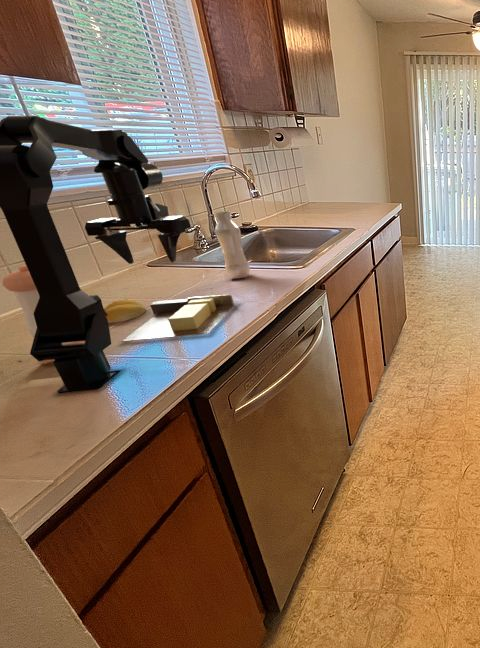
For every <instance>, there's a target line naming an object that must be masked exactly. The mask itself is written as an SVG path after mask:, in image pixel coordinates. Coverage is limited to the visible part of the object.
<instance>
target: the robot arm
mask: <svg viewBox="0 0 480 648" xmlns="http://www.w3.org/2000/svg"><path fill="white" fill-rule="evenodd" d="M24 144H30V146H28V145H24ZM54 148H60V149H66V150H73V151H78V152H81V153H82V155H84V157H88V158H91V159H93V160H96V161H98V163H97V165H95V166H94V169H93V172H94V173H95V174H101V176H102V178H103V181H104V183H105V186H106V188H107V191H108V193H109V196H110V199H107V203H108V206H114V208H115V209H114V210H115V212H116V214H117V217H101V218H98V219H94V220H90V221H86V222H85V226H84V231H85V233H86V235H87V237H91V236H92V237H93V236H94V239H95V240H99V241H101V242H102V243H104V244H105V245H106V246H107V247H109V248H110V249H111V250H112V251H114V252H115V253H116V254H117V255H119V256H120V257H121V258H122V259H123V260H124V261H125V262H127V264H129V265H131V264H134V257H133V254H132V251H131V248H130V247H129V244H128V241H127V234H128V231H137V230H138V231H139V230H157V232H159V234H157V237H158V239H159V242H160V243H161V245H162V247H163V250H164V252H165V254H166V256H167V258H168V259H169V261H170V262H171V263H175V262H176V261H177V249H178V243H179V238H180V237H181V235H182V234H184V233H185V232H186V231H187V230H188V229H190V228H192V226H191V223H190V220H189V218H187V217H186V216H185V215H171V216H170V215H169V214H170V213H169V207H168V206H167V205H165V204H164V205H163V204H161V203H160V204H159V203H155V202H153V200H152V198H151V197H150V195H146V194H145V191H144V190H149V189H152V188H158V187H159V186H161V184H162V183H163V181H164V176H163V173H162V171H161V170H160V169H159V168H158V167H157V166H156V165H155V164H153V163H151V162H149V159H148V158H147V157H146V155H145V154H144V152H142V150H141V149H140V147H139V146H138V145H137V143H136V142H135V141H134V139H133V138H132V137H131V136H130V135H128V133H127V132H126V131H124V130H122V129H89V128H84V127H80V126H77V125H76V126H75V125H71V124H67V123H63V122H58V121H53V120H49V119H46V118H44V117H41V116H38V115H8V116H6V117H3V118H1V120H0V210H1V211H2V213H3V216H4V218H5V220H6V222H7V223H6V224H7V225H8V228H9V230H10V232H11V234H12V236H13V239H14V241H15V243H16V245H17V248H18V251H19V252H20V254H21V257H22V259H23V261H24V264H25V265H26V266H27V268H28V271H29V273H30V275H31V278H32V280H33V282H34V284H35V287H36V289H37V291H38V294H39V300H38V302H37V305H36V308H35V310H34V313H33V314H34V318H35V322H36V326H37V329H36V333H35V336H34V338H33V340H32V343H31V348H30V352H29V353H30V356H32V358H34V359H35V360H37V361H38V362H43V360H52V359H54V360H55V361H53V362H52V364H53V366H54V368H55V370H56V372H57V374H58V376H59V377H60V379H61V381H62V383H63V385H62V387H60V388H59V389H58V390H56V392H57V394H59V395H60V394H68V393H77V392H78V393H79V392H87V391H95V390H96V391H97V390H100V389H102V388H103V387H104V386H105V385H106V384H108V382H109V381H111V380H112V379H113V378H114V377H115V376H116V375H118V374H119V373H120V372H121V371H122V370H121V369H120V370H119V369H118V370H111V365H110V362H109V361H108V358H107V357H106V354H105V352H104V350H106V349H107V348H108V347H109V346H111V345H112V338H111V333H110V324H109V323H108V320H107V318H106V316H108V314H107V313H106V312H105V310H104V308H105V307H104V306H103V302H102V299H101V297H100V296H99V295H97V294H93V295H92V294H91V295H90V294H88V293H86V292H85V291H83V290H82V289H81V287H80V285H79V282H78V279H77V277H76V275H75V271H74V270H73V267H72V265H71V262H70V259H69V258H68V255H67V252H66V250H65V246H64V245H63V242H62V239H61V237H60V235H59V232H58V229H57V227H56V223H55V222H54V220H53V217H52V215H51V212H50V209H49V207H48V203H49V201H50V197H51V195H52V192H53V190H54V183H53V178H52V175H51V170H52V168H53V166H54V164H55V163H56V160H57V158H58V156H57V155H56V152H55V149H54ZM76 341H85V343H79V344H68V345H62V343H65V342H76Z"/></svg>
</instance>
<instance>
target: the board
mask: <svg viewBox="0 0 480 648" xmlns="http://www.w3.org/2000/svg"><path fill="white" fill-rule="evenodd" d="M236 304H237V301H235V302H234V306H235V305H236ZM234 306H222V307H216V310H215V311H214V312H211V315H210V316H209V317H208V318H207V319H206V320H205V321H204V322H203V323H202V324H201V325H200V326H199V327H198V328H197V329H189V330H178V331H172V328H171V326H170V323H169V320H168V319H169V318H170V317H171V316H172V315H174V314H175V313H176V312H165V313H156V314H155V315H154V316H152V317H151V318H150V319H148V321H146V322H144V323H143V324H142V325H140V327H138V328H137V329H136V330H134V331H133V332H132V333H130V334H129V335H127V336H126V337H125V338H124V339H123V340H122V342H132V341H142V340H143V341H144V340H152V339H165V338H174V337H184V336H195V335H197V336H198V335H208V334H210V333H211V331H213V329H215V327H216V326H217V325H218V324H219V323H220V322H221V321H222V319H223V318H224V317H226V316H227V314H228V313H229V312H230V311H231V310H232V309H233V308H234Z"/></svg>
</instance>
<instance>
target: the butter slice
mask: <svg viewBox="0 0 480 648" xmlns="http://www.w3.org/2000/svg"><path fill="white" fill-rule="evenodd" d="M205 303H208V306H209V309H210V312H214V311H215V310H216V306H215V303H214V300H213V298H211V299H199V300H190V301H189V302H188V305H193V304H205Z"/></svg>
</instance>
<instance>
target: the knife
mask: <svg viewBox="0 0 480 648" xmlns="http://www.w3.org/2000/svg"><path fill="white" fill-rule="evenodd" d="M211 298H213V300H214V303H215V306H216V307H222V306H233V307H235V305H234V303H235V301H234V298H233V295H232V293H229V294H216V295H214V294H213V295H204V296H203V295H202V296H192V297H191V296H189V297H186V298H179V299H167V300H166V299H165V300H154V301H153V302H152V303H150V304H149V305H150V308H151V311H152V313H153V314H158V313H165V312H177V311H178V310H180V309H181V308H182V307H183V306H184V305H188V302H189V301H190V300H199V299H211Z"/></svg>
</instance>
